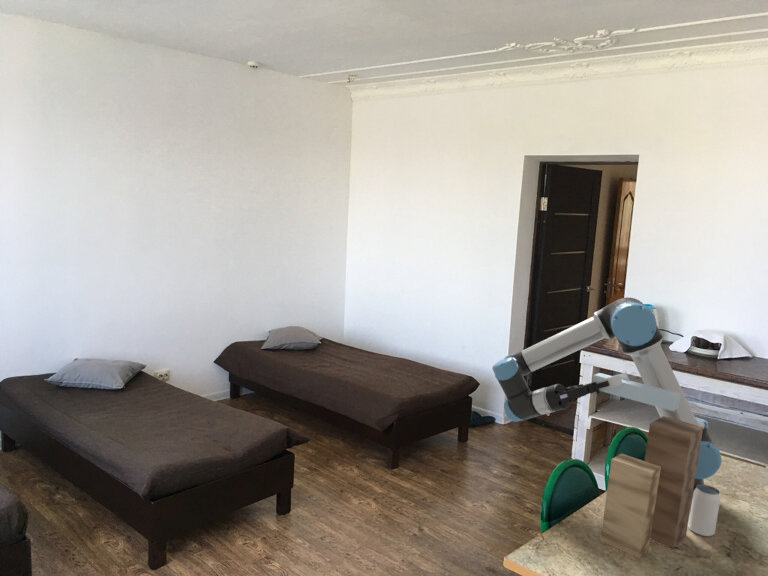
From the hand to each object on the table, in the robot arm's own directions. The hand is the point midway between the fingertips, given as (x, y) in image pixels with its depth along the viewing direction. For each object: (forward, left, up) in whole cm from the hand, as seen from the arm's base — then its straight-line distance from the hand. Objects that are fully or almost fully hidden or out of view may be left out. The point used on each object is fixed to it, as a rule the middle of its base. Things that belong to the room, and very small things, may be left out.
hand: (623, 378), depth 170 cm
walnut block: (0, +15, -39) cm, 42 cm away
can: (-11, +22, -39) cm, 46 cm away
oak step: (+14, +11, -39) cm, 43 cm away
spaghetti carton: (0, +3, -5) cm, 6 cm away
